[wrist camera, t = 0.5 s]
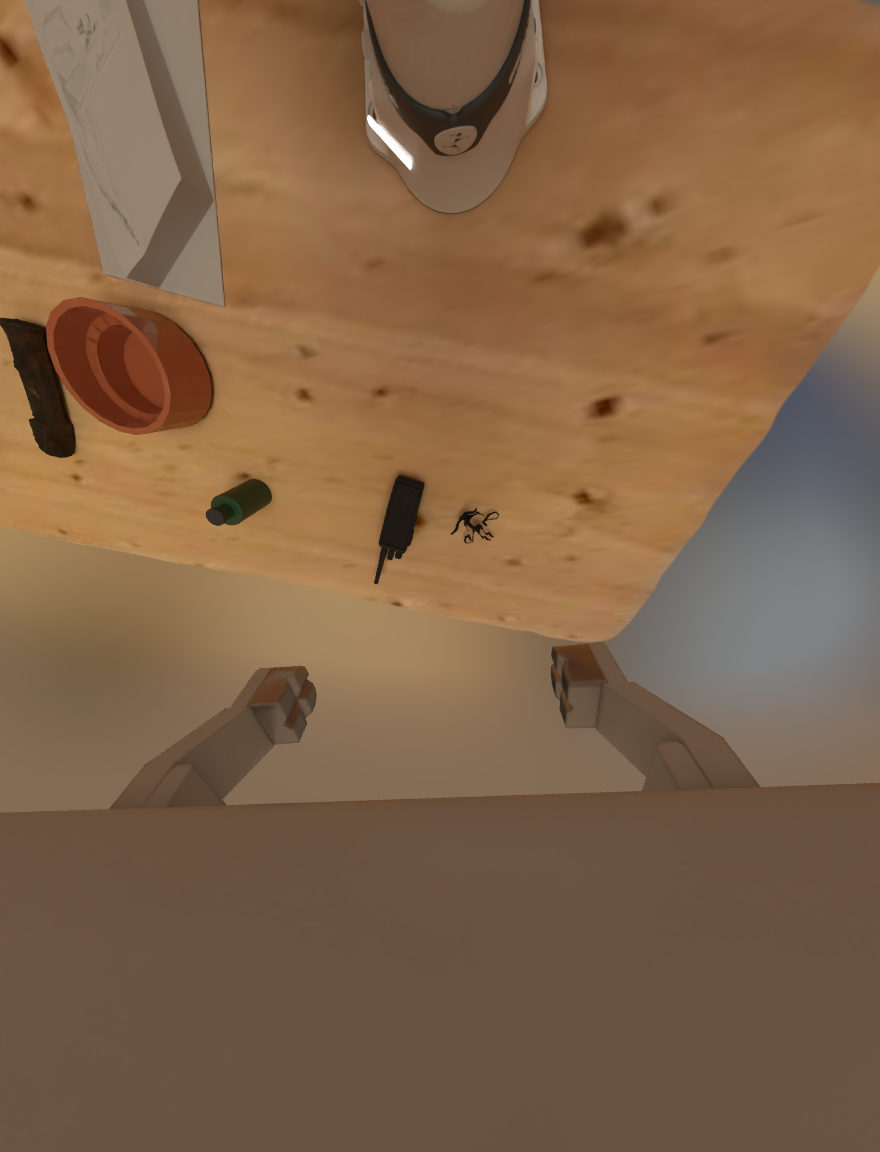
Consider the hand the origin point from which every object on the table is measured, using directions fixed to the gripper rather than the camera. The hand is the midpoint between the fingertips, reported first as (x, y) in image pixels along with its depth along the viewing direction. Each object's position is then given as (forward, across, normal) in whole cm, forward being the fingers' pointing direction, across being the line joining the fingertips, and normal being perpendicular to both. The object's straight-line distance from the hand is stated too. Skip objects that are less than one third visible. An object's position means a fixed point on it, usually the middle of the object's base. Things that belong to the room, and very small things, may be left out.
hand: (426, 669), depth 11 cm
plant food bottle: (+49, +34, +4) cm, 60 cm away
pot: (+49, +41, -15) cm, 66 cm away
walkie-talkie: (+48, +10, +13) cm, 51 cm away
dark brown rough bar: (+50, +60, -15) cm, 79 cm away
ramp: (+48, +30, -37) cm, 68 cm away
